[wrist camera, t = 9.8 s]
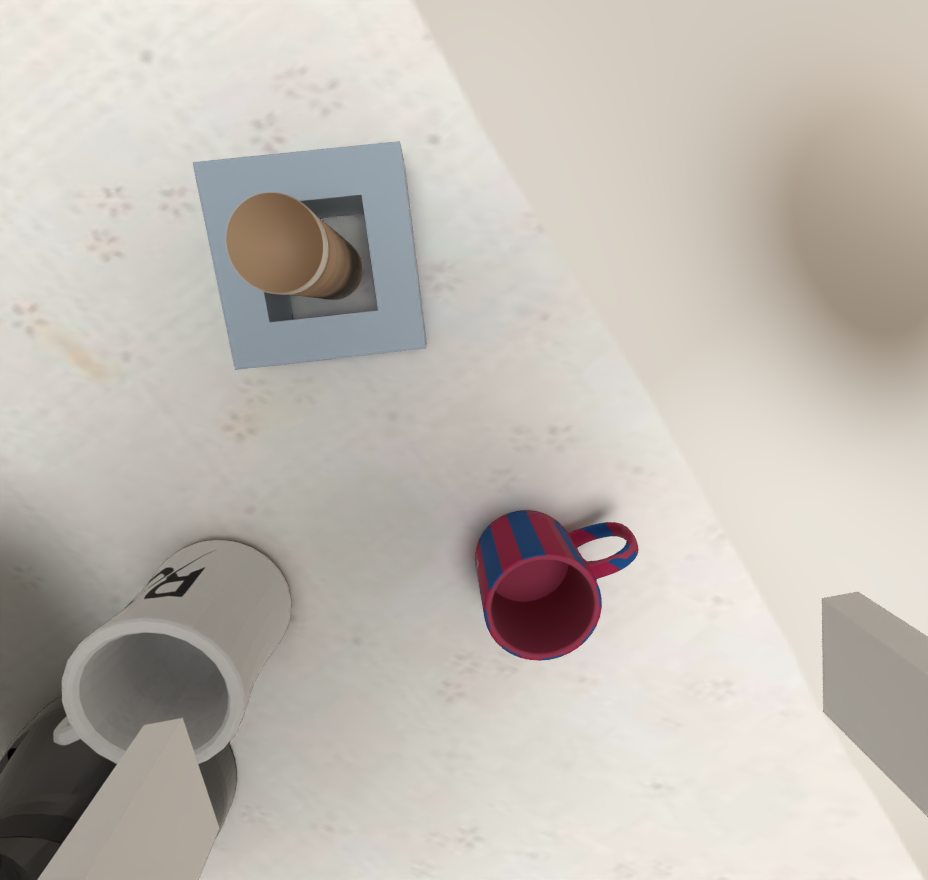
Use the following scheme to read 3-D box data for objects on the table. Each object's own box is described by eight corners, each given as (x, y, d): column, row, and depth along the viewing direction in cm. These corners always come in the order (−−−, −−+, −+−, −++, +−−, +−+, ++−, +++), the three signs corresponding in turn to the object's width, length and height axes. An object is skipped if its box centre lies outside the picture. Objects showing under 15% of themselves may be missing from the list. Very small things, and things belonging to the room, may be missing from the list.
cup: (459, 532, 37) (465, 580, 30) (598, 476, 36) (635, 513, 30) (496, 614, 38) (509, 677, 32) (629, 561, 38) (671, 614, 31)
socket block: (263, 361, 33) (235, 369, 29) (230, 185, 31) (192, 162, 26) (426, 343, 34) (425, 348, 29) (405, 167, 31) (399, 141, 27)
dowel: (306, 303, 33) (235, 299, 21) (295, 238, 32) (215, 196, 20) (367, 296, 33) (331, 288, 21) (358, 232, 32) (315, 186, 20)
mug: (244, 510, 36) (172, 585, 26) (320, 618, 38) (281, 724, 28) (87, 600, 36) (-39, 705, 27) (170, 700, 38) (81, 832, 29)
